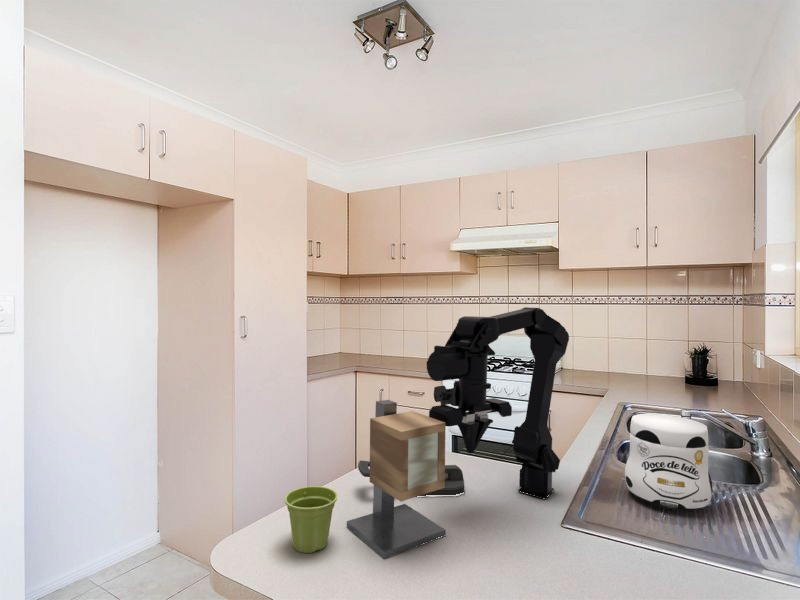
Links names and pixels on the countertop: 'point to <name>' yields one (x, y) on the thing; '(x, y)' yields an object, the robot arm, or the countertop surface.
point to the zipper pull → (452, 487)
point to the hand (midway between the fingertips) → (470, 452)
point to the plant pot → (310, 516)
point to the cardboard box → (407, 454)
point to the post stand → (392, 517)
